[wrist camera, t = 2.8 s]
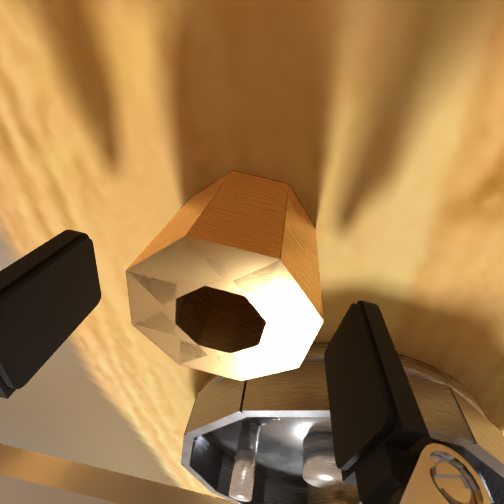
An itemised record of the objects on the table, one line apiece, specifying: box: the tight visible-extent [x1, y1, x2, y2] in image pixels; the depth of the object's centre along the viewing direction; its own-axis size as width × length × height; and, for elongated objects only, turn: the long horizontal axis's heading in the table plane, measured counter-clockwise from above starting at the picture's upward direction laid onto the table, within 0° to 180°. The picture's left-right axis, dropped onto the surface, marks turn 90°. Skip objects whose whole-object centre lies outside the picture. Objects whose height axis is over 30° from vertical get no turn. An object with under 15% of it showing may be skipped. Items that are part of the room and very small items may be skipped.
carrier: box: [181, 343, 504, 504], centre depth 18 cm, size 20×20×6 cm
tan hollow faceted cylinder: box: [126, 171, 324, 381], centre depth 10 cm, size 5×5×5 cm
